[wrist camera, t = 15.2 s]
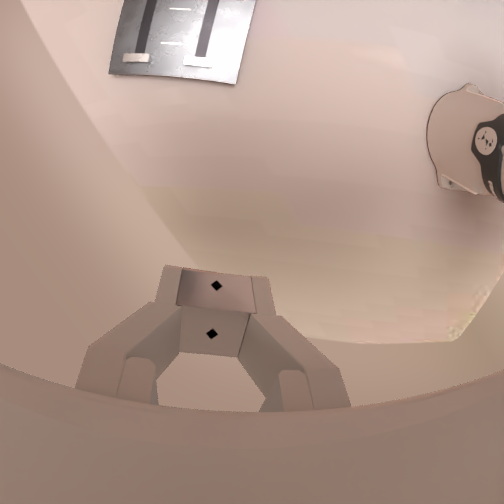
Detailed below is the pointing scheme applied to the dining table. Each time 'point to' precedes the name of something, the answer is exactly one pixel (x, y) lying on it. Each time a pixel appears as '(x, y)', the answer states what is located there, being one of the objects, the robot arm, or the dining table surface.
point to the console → (182, 38)
